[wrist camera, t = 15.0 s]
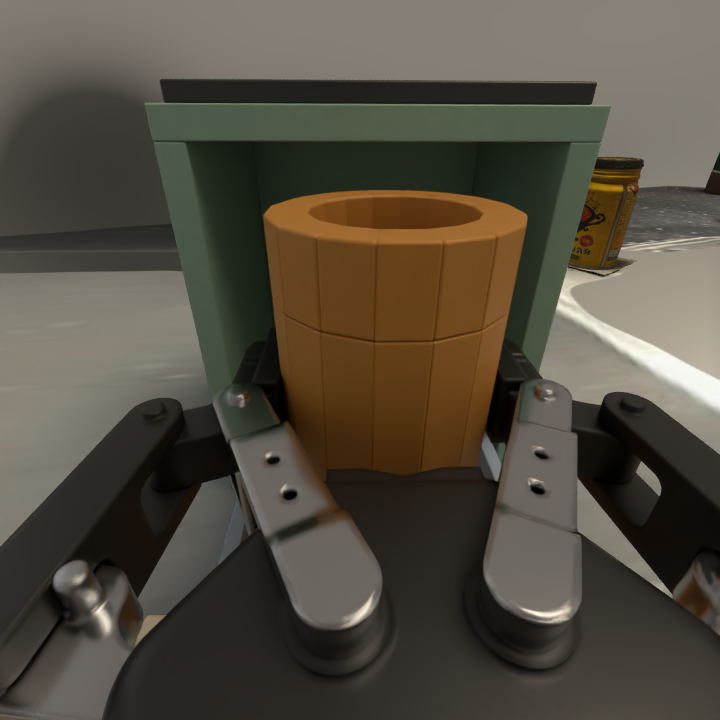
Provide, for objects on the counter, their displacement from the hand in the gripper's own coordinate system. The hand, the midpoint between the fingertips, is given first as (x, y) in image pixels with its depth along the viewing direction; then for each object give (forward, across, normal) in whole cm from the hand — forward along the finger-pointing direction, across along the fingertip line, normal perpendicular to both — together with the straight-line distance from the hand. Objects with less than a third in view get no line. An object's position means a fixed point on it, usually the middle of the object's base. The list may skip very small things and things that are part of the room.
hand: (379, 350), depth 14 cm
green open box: (+7, 0, +9) cm, 12 cm away
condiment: (+38, -30, +9) cm, 49 cm away
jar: (-2, 0, +8) cm, 8 cm away
